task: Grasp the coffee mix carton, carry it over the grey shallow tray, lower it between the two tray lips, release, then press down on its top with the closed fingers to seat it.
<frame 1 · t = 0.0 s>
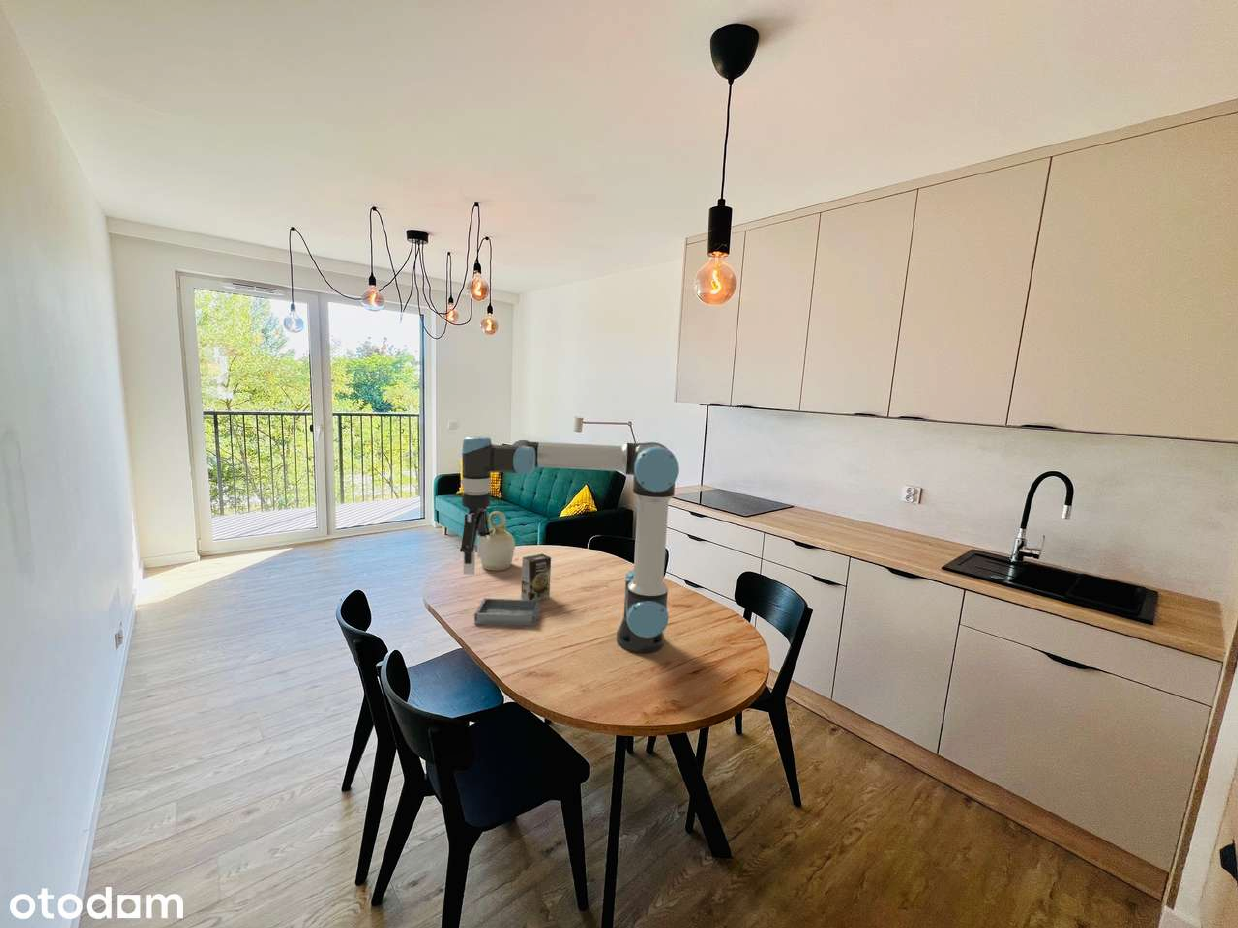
hand: (475, 565, 141), 28 cm above the table, fingers open, 13 cm apart
coffee box: (535, 598, 188), on the table
grey shallow tray: (508, 616, 172), on the table
jug: (496, 566, 219), on the table
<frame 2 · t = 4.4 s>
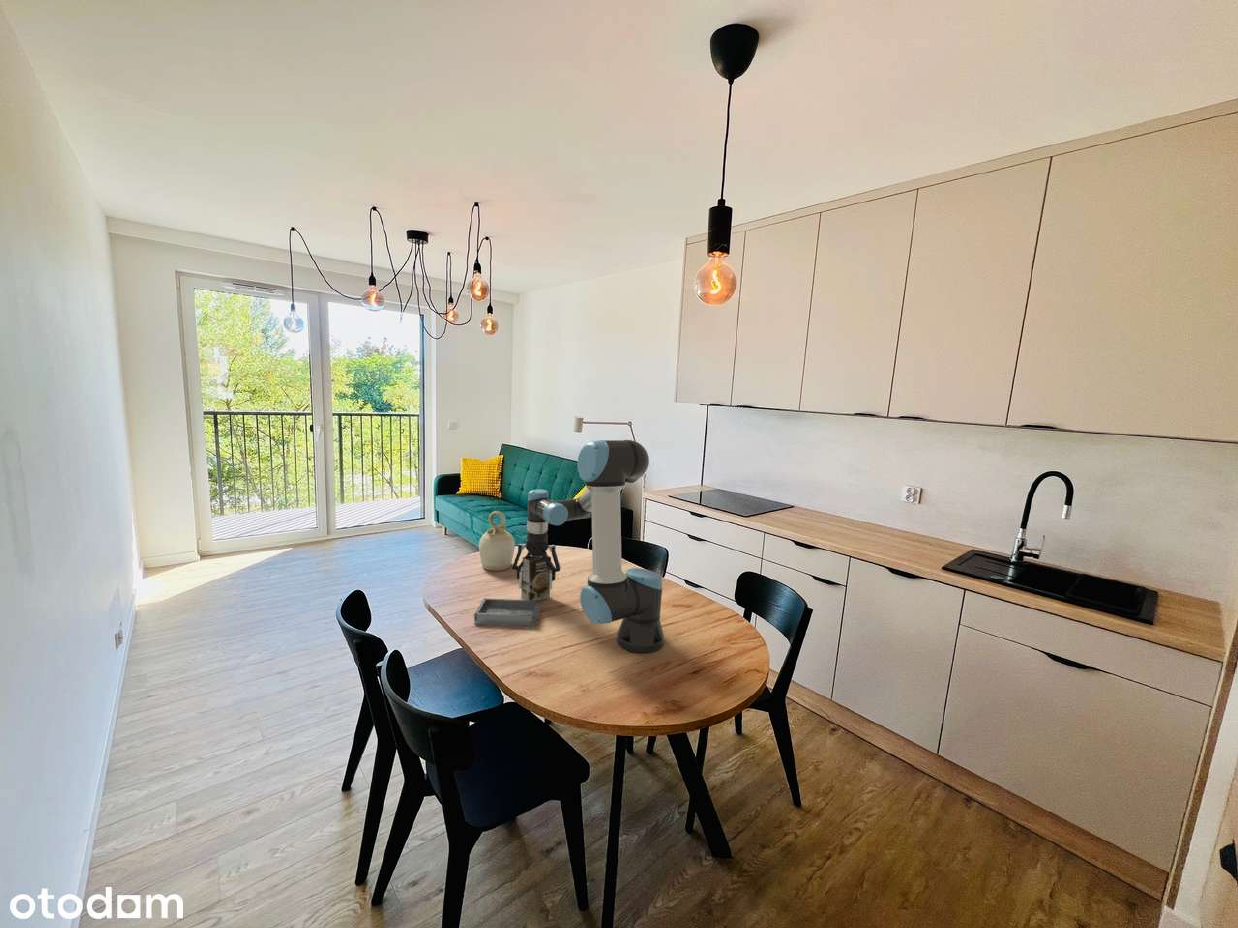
hand: (535, 587, 187), 4 cm above the table, fingers closed on coffee box, 11 cm apart
coffee box: (535, 598, 188), on the table, touching gripper
everything else where it was.
when the fingers open (7 cm above the table, at t = 10.0 s): coffee box drops 2 cm, resting on grey shallow tray.
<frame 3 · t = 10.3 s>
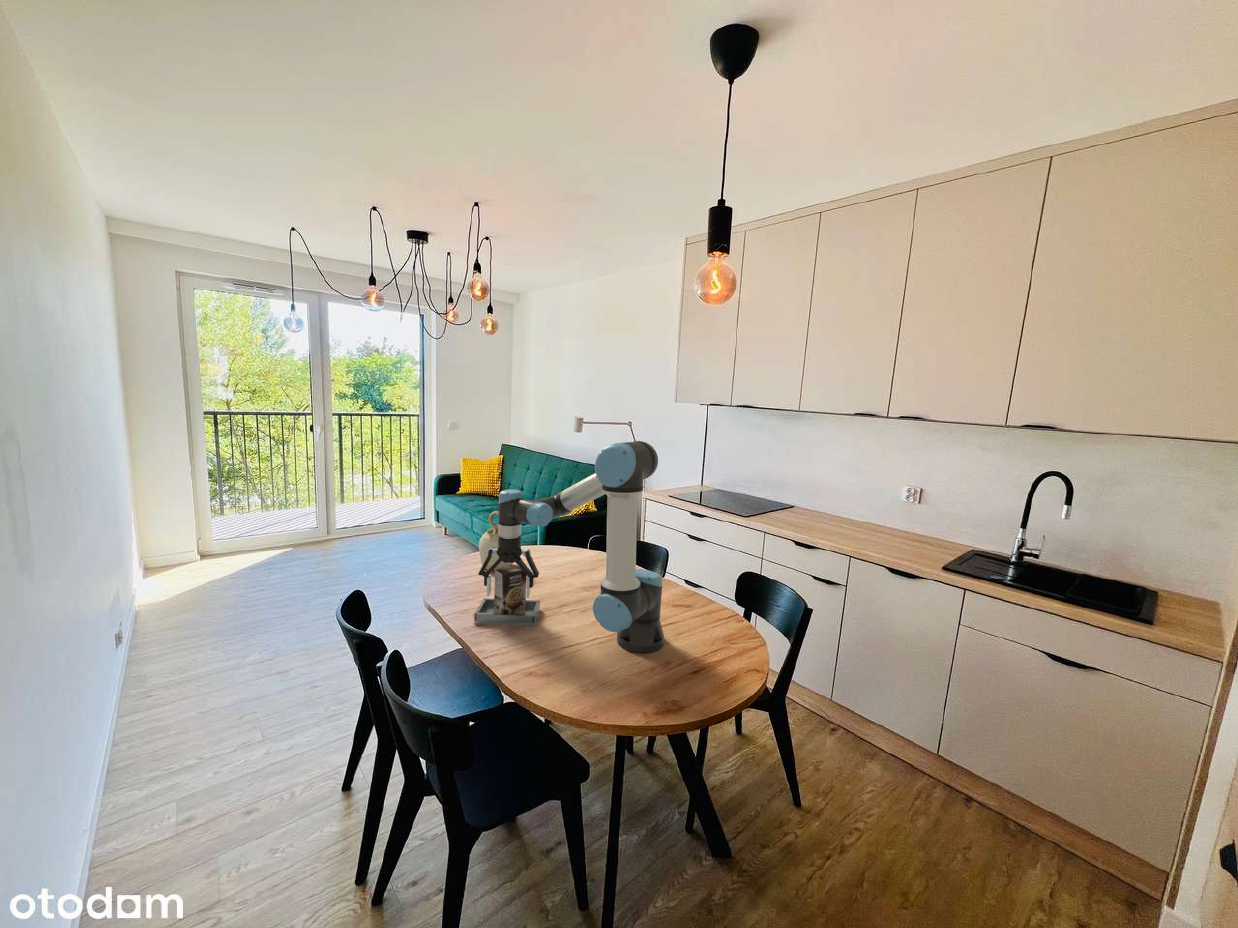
hand: (508, 595, 170), 8 cm above the table, fingers open, 13 cm apart
coffee box: (509, 614, 171), point 1 cm above the table, touching grey shallow tray
everything else where it was.
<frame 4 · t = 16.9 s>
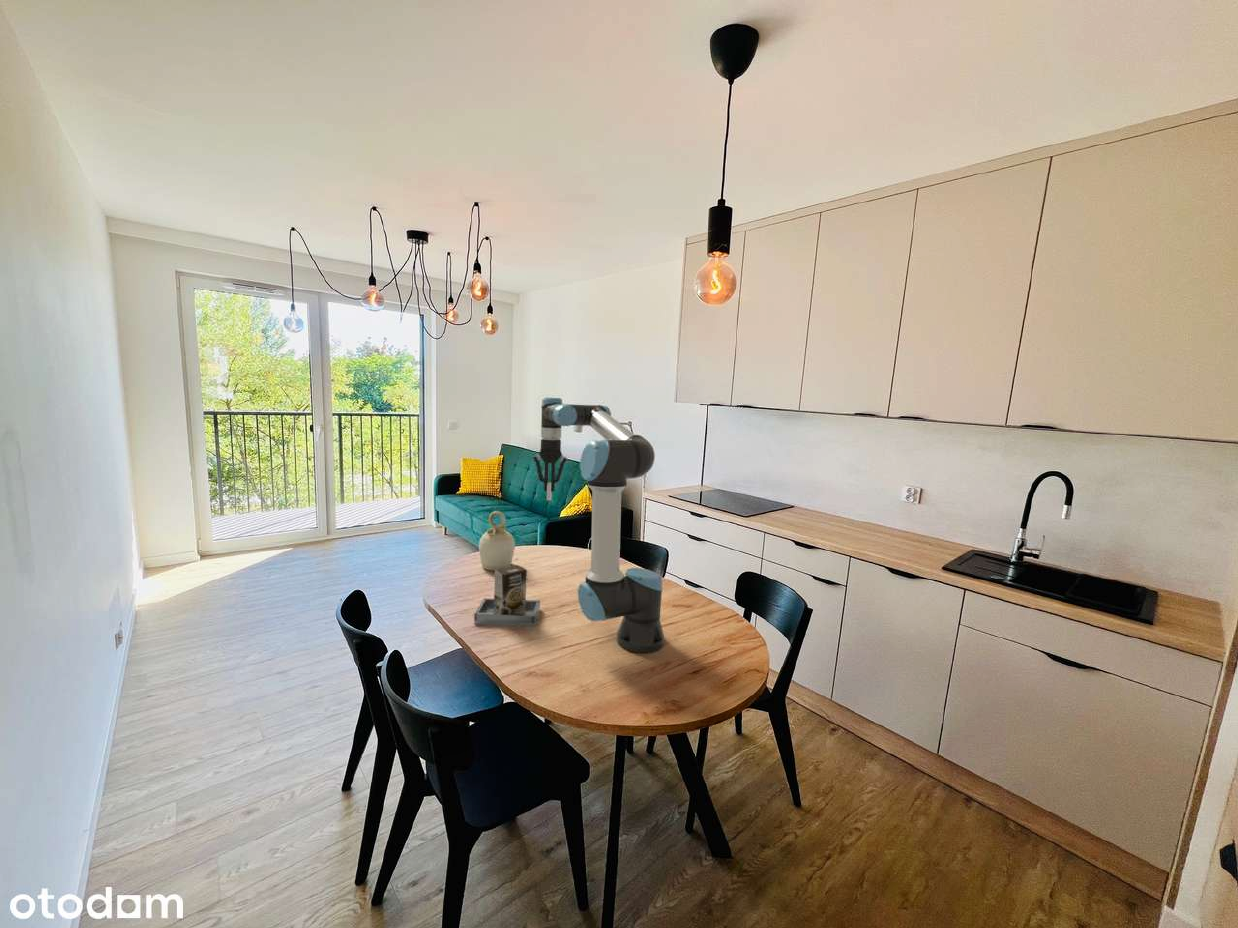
hand: (549, 499, 191), 36 cm above the table, fingers closed
nothing on the table moved.
at the end: coffee box inside the target area on the grey shallow tray (0.6 cm from its centre), point 0.8 cm above the grey shallow tray's base; coffee box tilted 0°; the gripper is holding nothing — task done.
